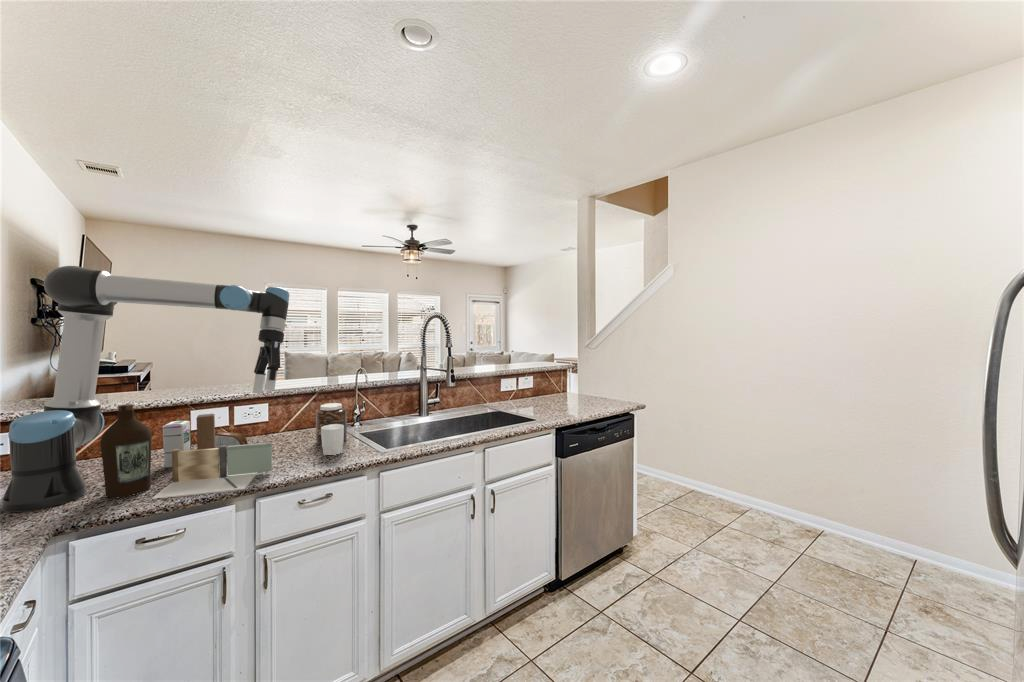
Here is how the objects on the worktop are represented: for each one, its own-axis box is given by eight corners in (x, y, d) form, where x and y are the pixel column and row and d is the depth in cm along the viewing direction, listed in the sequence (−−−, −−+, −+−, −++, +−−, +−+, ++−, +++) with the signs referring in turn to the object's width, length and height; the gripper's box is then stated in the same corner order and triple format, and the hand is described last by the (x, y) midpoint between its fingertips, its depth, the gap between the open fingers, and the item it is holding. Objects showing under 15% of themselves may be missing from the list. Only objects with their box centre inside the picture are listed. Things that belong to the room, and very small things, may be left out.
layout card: (151, 499, 112) (151, 497, 112) (176, 480, 126) (176, 478, 126) (244, 489, 119) (244, 488, 119) (258, 472, 133) (258, 470, 132)
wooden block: (180, 475, 130) (178, 419, 129) (182, 471, 134) (180, 416, 133) (215, 469, 135) (213, 415, 134) (215, 465, 138) (214, 413, 138)
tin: (248, 455, 149) (248, 433, 149) (241, 458, 146) (240, 435, 146) (216, 452, 153) (215, 430, 153) (208, 455, 150) (207, 432, 150)
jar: (352, 441, 168) (351, 405, 167) (323, 447, 160) (322, 409, 159) (339, 435, 176) (339, 401, 176) (311, 441, 168) (310, 405, 167)
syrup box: (184, 466, 138) (183, 423, 137) (163, 468, 136) (162, 424, 136) (192, 460, 143) (190, 419, 143) (171, 462, 142) (170, 421, 141)
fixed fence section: (171, 483, 123) (170, 451, 122) (174, 481, 125) (173, 449, 124) (225, 478, 127) (225, 446, 127) (227, 476, 129) (227, 445, 129)
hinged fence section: (227, 475, 128) (226, 447, 127) (229, 474, 129) (228, 445, 128) (271, 471, 131) (270, 443, 131) (272, 469, 133) (271, 442, 132)
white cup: (325, 458, 147) (324, 430, 146) (318, 452, 153) (318, 426, 152) (347, 453, 152) (347, 427, 152) (340, 448, 158) (339, 423, 158)
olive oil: (96, 494, 115) (92, 406, 114) (143, 481, 124) (141, 400, 123) (111, 502, 110) (108, 410, 109) (160, 488, 119) (157, 403, 118)
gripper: (296, 327, 137) (287, 390, 132) (272, 338, 154) (264, 394, 149) (271, 322, 132) (261, 388, 127) (250, 334, 149) (240, 393, 144)
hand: (263, 391), depth 138 cm, fingers open, 13 cm apart
